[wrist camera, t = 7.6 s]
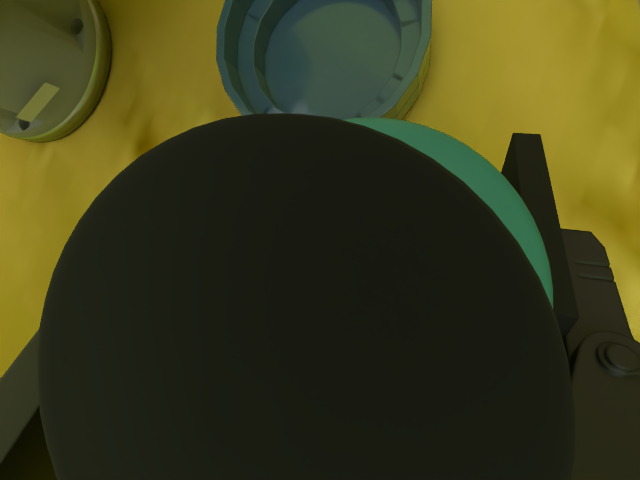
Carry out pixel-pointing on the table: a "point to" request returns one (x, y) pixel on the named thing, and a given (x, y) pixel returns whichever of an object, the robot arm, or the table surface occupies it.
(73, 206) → the table surface
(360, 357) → the beverage bottle
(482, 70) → the table surface
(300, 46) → the dish
